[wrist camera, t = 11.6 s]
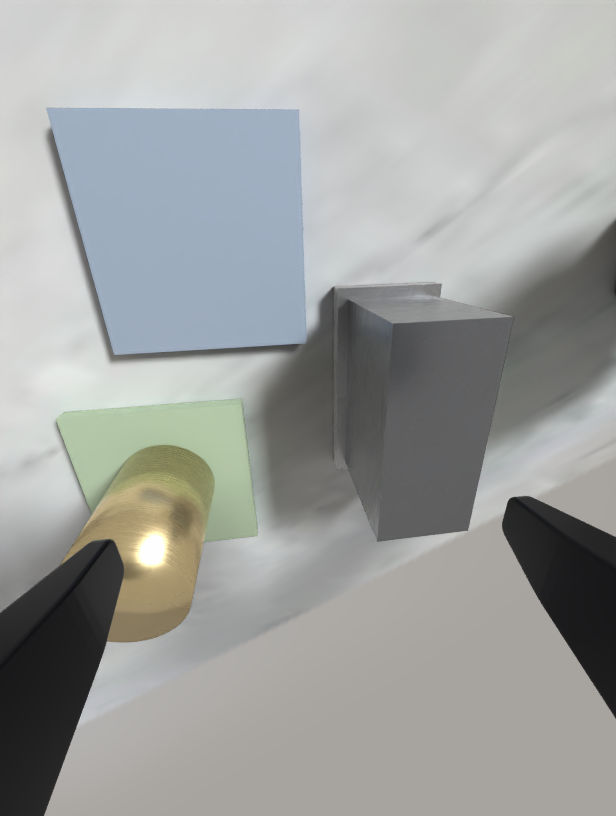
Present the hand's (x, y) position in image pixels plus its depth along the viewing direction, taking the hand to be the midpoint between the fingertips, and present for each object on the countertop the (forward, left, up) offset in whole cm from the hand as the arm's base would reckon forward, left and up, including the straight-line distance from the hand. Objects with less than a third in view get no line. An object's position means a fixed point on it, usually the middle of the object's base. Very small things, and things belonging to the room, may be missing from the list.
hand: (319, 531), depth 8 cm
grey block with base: (-5, +1, -11) cm, 12 cm away
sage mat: (+7, +6, -11) cm, 15 cm away
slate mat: (+3, -6, -11) cm, 13 cm away
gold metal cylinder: (+7, +6, -11) cm, 14 cm away
